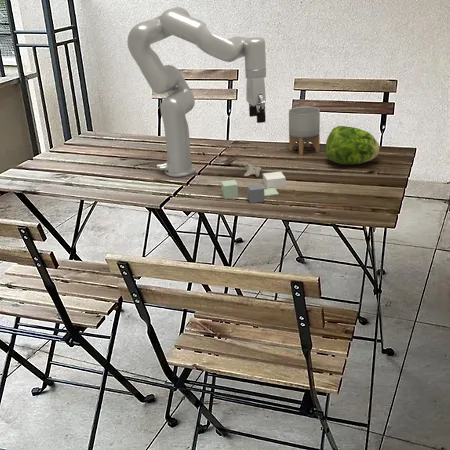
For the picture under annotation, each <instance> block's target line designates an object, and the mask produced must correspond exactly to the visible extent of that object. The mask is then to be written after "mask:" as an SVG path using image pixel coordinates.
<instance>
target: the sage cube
mask: <svg viewBox="0 0 450 450" xmlns="http://www.w3.org/2000/svg"><path fill="white" fill-rule="evenodd" d="M220 184H221V195H222V197H223V199H224V200H227V199H228V200H229V199H236V198H239V187H238V186H239V185H238V183H237V181H236V179H231V180H224V181H221V183H220Z"/></svg>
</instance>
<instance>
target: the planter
mask: <svg viewBox="0 0 450 450" xmlns="http://www.w3.org/2000/svg"><path fill="white" fill-rule="evenodd" d="M320 110H321V109H320V108H318V107H315V106H296V107H291V108H290V109H288V140H289V143H288V144H289V145H288V149H289V151H294V147H295V146H294V145H295V144H296V143H298V156H303V155H304V147H305V148H310V146H311V145H310V143H311V144H312V145H313V146H314V149H315V153H319V152H320V149H321V148H320V145H321V144H320V142H321V141H320V138H321V137H320V135H321V132H320V131H321V130H320V129H321V127H320V123H321V122H320V121H321V118H320V117H321V116H320V115H321V111H320Z"/></svg>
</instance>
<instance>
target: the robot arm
mask: <svg viewBox="0 0 450 450" xmlns="http://www.w3.org/2000/svg"><path fill="white" fill-rule="evenodd" d="M171 36H174V37H176V38H179V39H181V40H184V41H186V42H189V43H190V44H192V45H195V46H196V47H197V48H198V49H199V50H201V52H203V53H205V54H206V55H209V56H211V57H213V58H215V59H218V60H220V61H223V62H227V63H232V62H234V61H236V60H238V59H241V58H244V70H245V72H244V73H245V76H244V77H245V79H246V84H245V85H246V91H245V92H246V95H245V97H246V102H247V103H248V112H249V113H248V114H249V117H250V118H251V117H256V123H258V124H262V123H266V121H267V120H266V100H267V99H266V85H265V84H266V83H265V79H266V78H267V66H266V64H267V63H266V61H267V58H266V41H265V39H264V38H262V37H259V36H256V37H246V36H245V37H244V36H243V37H242V36H232V37H231V38H228V39H226V38H224V37H221V36H218V35H217V34H214V33H212V32H211V31H210V30H209V29H208V27H207V24H206V23H205V22H204V21H202V20H200V19H197V18H195V17H193V16H191V15H190V13H189V11H188V10H187V9H185V8H183V7H181V6H176V7H172V8H169V9H166V10H165V11H163V13H161V15H159V16H156V17H153V18H151V19H148V20H144V21H141V22H139V23H136V24H135V25H134V26H132V28H131V29H130V31H129V32H128V36H127V40H126V41H127V48H128V50H129V51H128V52H129V53H130V55H131V56H132V58H133V60H134V61H135V63H136V65H137V66H138V68H139V69H140V71H141V74H142V76H143V77H144V79H145V81H146V82H147V84H148V85H149V87H150V89H151V90H152V91H153V93H155V94H157V95H164V94H167V96H166V97H164V99H163V100H162V101H161V103H160V116H161V118H162V121H163V128H164V136H165V146H166V148H165V149H166V156H167V158H166V162H164V163H156V170H157V169H158V170H160V171H163V170H164V174H165V175H166V176H169V177H174V178H175V177H176V178H177V177H187V176H189V175H190V176H191V175H193V174H194V173H196V171H197V168H196V166H195V165H193V164H192V154H191V152H192V151H191V140H190V139H191V138H190V129H189V124H188V120H187V117H186V114H188V113H189V112H191V111H192V110H193V109H194V106H195V104H196V103H195V102H196V99H195V96H194V94H193V92H192V90H191V88H190V86H189V85H188V83H187V81H186V80H185V78H184V76H183V74H182V73H181V71H180V70H179V69H178V68H177V67H176V66H174V65H171V64H165V65H164V64H163V62H162V60H161V58H160V57H159V55H158V54H157V52H156V51H154V49H153V48H152V46H151V45H152V44H153V45H154V44H155V43H157V42H158V43H159V42H161V41H163V40H164V39H167V38H169V37H171Z"/></svg>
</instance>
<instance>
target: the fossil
mask: <svg viewBox="0 0 450 450" xmlns="http://www.w3.org/2000/svg"><path fill="white" fill-rule="evenodd" d="M244 164H245V165H246V166H244V168H245V170H246V172H245V173H244V174H243V176H244V177H248V176H250V175H255V177H256V178H259V177H260V172H261V171H262V168H261V167H260V166H256V165H255V166H254V165H252V164H250V163H248V162H246V161H245V162H244Z"/></svg>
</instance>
